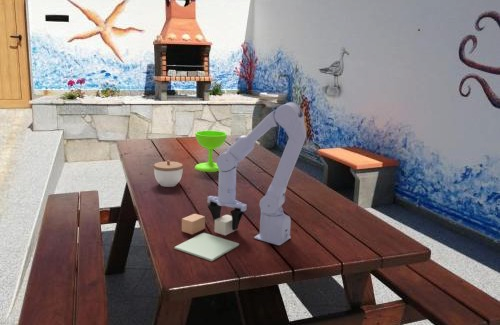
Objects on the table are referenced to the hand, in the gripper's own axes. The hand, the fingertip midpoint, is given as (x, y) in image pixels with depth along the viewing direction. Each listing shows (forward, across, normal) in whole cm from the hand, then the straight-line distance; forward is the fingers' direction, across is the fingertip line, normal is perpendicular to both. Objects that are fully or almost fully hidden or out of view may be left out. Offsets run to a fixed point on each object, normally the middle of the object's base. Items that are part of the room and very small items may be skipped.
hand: (225, 226), depth 150 cm
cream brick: (+2, 0, 0) cm, 2 cm away
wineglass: (+2, -55, +64) cm, 84 cm away
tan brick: (+2, -9, -6) cm, 11 cm away
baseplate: (+1, +3, -14) cm, 14 cm away
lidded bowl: (+2, -51, +28) cm, 58 cm away
